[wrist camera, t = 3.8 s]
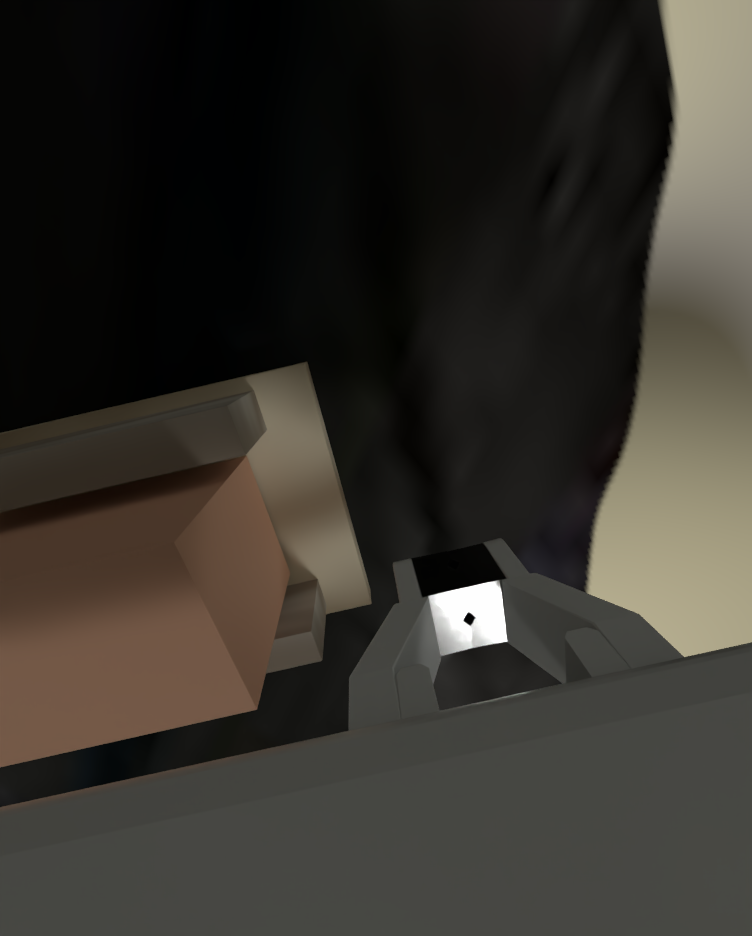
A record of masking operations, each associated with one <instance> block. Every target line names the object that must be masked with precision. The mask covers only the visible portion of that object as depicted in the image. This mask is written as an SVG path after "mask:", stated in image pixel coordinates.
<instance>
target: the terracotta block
mask: <svg viewBox="0 0 752 936" xmlns="http://www.w3.org/2000/svg"><path fill="white" fill-rule="evenodd" d="M289 576H290V571H289V568H288V566H287V563H286V560H285V558H284V555H283V552H282V550H281V547H280V544H279V541H278V539H277V536H276V533H275V531H274V528H273V525H272V523H271V520H270V517H269V514H268V512H267V509H266V506H265V504H264V501H263V498H262V496H261V493H260V490H259V487H258V485H257V482H256V479H255V477H254V474H253V471H252V469H251V466H250V463H249V460H248V458H247V456H244V457H240V458H235V459H231V460H227V461H222V462H218V463H214V464H209V465H205V466H201V467H196V468H192V469H188V470H183V471H179V472H175V473H170V474H166V475H162V476H157V477H153V478H149V479H144V480H140V481H136V482H131V483H127V484H123V485H118V486H114V487H110V488H105V489H101V490H97V491H92V492H88V493H84V494H79V495H75V496H71V497H67V498H62V499H58V500H54V501H49V502H45V503H41V504H36V505H32V506H28V507H23V508H19V509H15V510H10V511H6V512H2V513H0V767H3V766H8V765H12V764H17V763H21V762H26V761H30V760H34V759H39V758H43V757H48V756H52V755H57V754H61V753H66V752H70V751H74V750H79V749H83V748H88V747H92V746H97V745H101V744H106V743H110V742H114V741H119V740H123V739H128V738H132V737H137V736H141V735H146V734H150V733H155V732H159V731H163V730H168V729H172V728H177V727H181V726H186V725H190V724H195V723H199V722H203V721H208V720H212V719H217V718H221V717H226V716H230V715H235V714H239V713H243V712H248V711H252V710H257V707H258V703H259V699H260V695H261V691H262V687H263V683H264V679H265V674H266V670H267V666H268V662H269V658H270V654H271V650H272V646H273V642H274V638H275V633H276V629H277V625H278V621H279V617H280V613H281V609H282V605H283V601H284V597H285V593H286V588H287V584H288V580H289Z"/></svg>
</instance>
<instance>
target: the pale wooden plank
mask: <svg viewBox="0 0 752 936" xmlns="http://www.w3.org/2000/svg"><path fill="white" fill-rule="evenodd" d="M244 456H247V458H248V460H249V463H250V466H251V469H252V471H253V474H254V477H255V479H256V482H257V485H258V487H259V490H260V493H261V496H262V498H263V501H264V504H265V506H266V509H267V512H268V514H269V517H270V520H271V523H272V525H273V528H274V531H275V533H276V536H277V539H278V541H279V544H280V547H281V550H282V552H283V555H284V558H285V560H286V563H287V566H288V568H289V571H290V576H289V580H288V584H287V588H286V593H285V597H284V601H283V605H282V609H281V613H280V617H279V621H278V625H277V629H276V633H275V638H274V642H273V646H272V650H271V654H270V658H269V662H268V666H267V670H266V673H270V672H274V671H278V670H283V669H287V668H292V667H296V666H301V665H305V664H310V663H314V662H318V661H322V656H323V644H324V631H325V619H326V614H328V613H333V612H337V611H341V610H346V609H350V608H355V607H359V606H363V605H368V604H371V594H370V587H369V584H368V580H367V576H366V573H365V569H364V565H363V562H362V558H361V555H360V551H359V547H358V544H357V540H356V537H355V533H354V529H353V526H352V522H351V518H350V515H349V511H348V508H347V504H346V500H345V497H344V493H343V490H342V486H341V482H340V479H339V475H338V472H337V468H336V464H335V461H334V457H333V453H332V450H331V446H330V443H329V439H328V435H327V432H326V428H325V425H324V421H323V417H322V414H321V410H320V406H319V403H318V399H317V396H316V392H315V388H314V385H313V381H312V378H311V374H310V370H309V367H308V363H307V362H303V363H299V364H294V365H290V366H286V367H282V368H277V369H273V370H269V371H264V372H260V373H256V374H251V375H247V376H243V377H239V378H234V379H230V380H226V381H221V382H217V383H213V384H209V385H204V386H200V387H196V388H191V389H187V390H183V391H178V392H174V393H170V394H166V395H161V396H157V397H153V398H148V399H144V400H140V401H136V402H131V403H127V404H123V405H118V406H114V407H110V408H106V409H101V410H97V411H93V412H88V413H84V414H80V415H75V416H71V417H67V418H63V419H58V420H54V421H50V422H45V423H41V424H37V425H33V426H28V427H24V428H20V429H15V430H11V431H7V432H2V433H0V513H2V512H6V511H10V510H15V509H19V508H23V507H28V506H32V505H36V504H41V503H45V502H49V501H54V500H58V499H62V498H67V497H71V496H75V495H79V494H84V493H88V492H92V491H97V490H101V489H105V488H110V487H114V486H118V485H123V484H127V483H131V482H136V481H140V480H144V479H149V478H153V477H157V476H162V475H166V474H170V473H175V472H179V471H183V470H188V469H192V468H196V467H201V466H205V465H209V464H214V463H218V462H222V461H227V460H231V459H235V458H240V457H244Z"/></svg>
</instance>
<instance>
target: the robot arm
mask: <svg viewBox="0 0 752 936" xmlns="http://www.w3.org/2000/svg"><path fill="white" fill-rule="evenodd" d="M393 569H394V575H395V580H396V586H397V591H398V596H399V602H400V603H397V604H394V606H393V607H392V609H391V611H390V612H389V614H388V615H387V617H386V619H385V620H384V622H383V624H382V625H381V627H380V628H379V630H378V632H377V633H376V635H375V637H374V638H373V640H372V641H371V643H370V645H369V646H368V648H367V650H366V651H365V653H364V654H363V656H362V658H361V659H360V661H359V663H358V664H357V666H356V668H355V669H354V671H353V672H352V674H351V676H350V677H349V731H346V732H342V733H337V734H332V735H328V736H323V737H319V738H314V739H310V740H305V741H301V742H296V743H291V744H287V745H282V746H278V747H273V748H269V749H264V750H260V751H255V752H251V753H246V754H241V755H237V756H232V757H228V758H223V759H219V760H214V761H210V762H205V763H200V764H196V765H191V766H187V767H182V768H178V769H173V770H168V771H164V772H159V773H155V774H150V775H146V776H141V777H137V778H132V779H127V780H123V781H118V782H114V783H109V784H105V785H100V786H95V787H91V788H86V789H82V790H77V791H73V792H68V793H64V794H59V795H54V796H50V797H45V798H41V799H36V800H32V801H27V802H23V803H18V804H13V805H9V806H4V807H0V936H752V642H751V643H747V644H743V645H738V646H734V647H729V648H724V649H720V650H716V651H711V652H706V653H702V654H697V655H693V656H688V657H683V656H682V655H681V654H680V653H679V652H678V651H677V650H676V649H675V648H674V647H673V646H672V645H671V644H670V643H669V642H668V641H667V640H666V639H665V638H663V637H662V636H661V635H660V634H659V633H658V632H657V631H656V630H655V629H654V628H653V627H652V626H651V625H650V624H649V623H648V622H647V621H646V620H645V619H643V617H641V616H640V615H639V614H637V613H635V612H632V611H630V610H627V609H625V608H622V607H619V606H617V605H615V604H612V603H610V602H607V601H605V600H602V599H599V598H597V597H595V596H592V595H589V594H587V593H585V592H582V591H580V590H577V589H575V588H572V587H570V586H567V585H565V584H562V583H560V582H557V581H555V580H552V579H550V578H547V577H545V576H542V575H539V574H537V573H532V574H529V572H528V571H527V570H526V569H525V567H524V566H523V565H522V563H521V562H520V561H519V560H518V558H517V557H516V556H515V554H514V553H513V552H512V551H511V549H510V548H509V547H508V545H507V544H506V543H505V542H504V540H503V539H500V538H499V539H495V540H491V541H487V542H483V543H481V544H477V545H473V546H469V547H464V548H460V549H456V550H452V551H448V552H447V551H446V552H441V553H436V554H431V555H426V556H421V557H416V558H411V559H406V560H402V561H397V562H393ZM505 641H508V643H509V644H511V645H512V646H513V647H515V648H516V649H517V650H519V651H520V652H521V653H523V654H524V655H525V656H527V657H528V658H529V659H531V660H532V661H533V662H535V663H536V664H537V665H539V666H540V667H542V668H543V669H544V670H546V671H547V672H548V673H550V674H551V675H552V676H554V677H555V678H556V679H558V680H559V681H560V682H562V683H563V684H560V685H555V686H550V687H546V688H541V689H537V690H532V691H528V692H523V693H519V694H514V695H510V696H505V697H501V698H496V699H492V700H487V701H482V702H478V703H473V704H469V705H464V706H460V707H455V708H451V709H446V710H442V711H439V707H438V703H437V699H436V695H435V691H434V687H433V683H434V680H435V676H436V673H437V670H438V666H439V663H440V660H441V656H442V655H446V654H450V653H454V652H458V651H462V650H466V649H470V648H474V647H479V646H484V645H490V644H495V643H500V642H505Z"/></svg>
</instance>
